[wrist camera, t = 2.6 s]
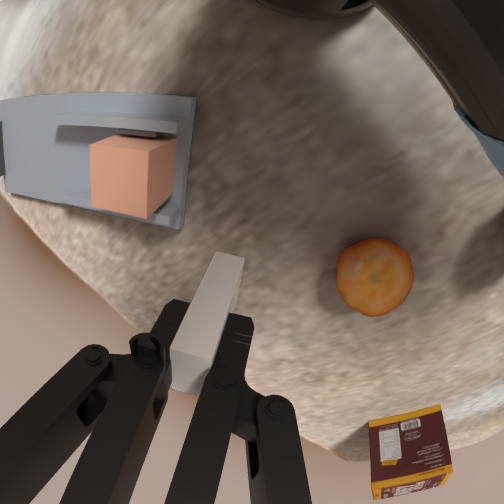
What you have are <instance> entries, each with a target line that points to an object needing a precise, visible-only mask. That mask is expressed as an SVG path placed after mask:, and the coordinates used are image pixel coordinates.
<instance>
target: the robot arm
mask: <svg viewBox="0 0 504 504" xmlns="http://www.w3.org/2000/svg"><path fill="white" fill-rule="evenodd" d="M256 1H258V2H259V3H261V4H263V5H264V6H266V7H268V8H270V9H272V10H275V11H277V12H280V13H283V14H286V15H290V16H293V17H298V18H304V19H315V20H328V19H338V18H343V17H348V16H351V15H354V14H357V13H359V12H362V11H364V10H365V9H367V8H369V7H370V6H372V5H374V6H375V7H376V8H377V9H378V10H379V11H380V12H381V13H382V14H383V15H384V16H385V17H386V18H387V19H388V20H389V21H390V22H391V23H392V24H393V25H394V27H395V28H396V29H397V30H398V31H399V32H400V33H401V34H402V35H403V37H404V38H405V39H406V40H407V41H408V42H409V43H410V45H411V46H412V47H413V48H414V49H415V51H416V52H417V53H418V54H419V56H420V57H421V58H422V59H423V61H424V62H425V63H426V64H427V66H428V67H429V68H430V70H431V71H432V72H433V74H434V75H435V77H436V78H437V79H438V81H439V82H440V83H441V85H442V86H443V88H444V89H445V91H446V92H447V94H448V95H449V97H450V98H451V100H452V101H453V105H454V109H455V111H456V112H457V114H458V115H459V117H460V119H461V120H462V121H463V122H464V123H465V125H466V126H467V127H468V128H469V129H471V130H472V131H473V132H474V134H475V136H476V137H477V139H478V140H479V142H480V144H481V145H482V147H483V149H484V151H485V152H486V154H487V156H488V158H489V159H490V161H491V162H492V164H493V165H494V167H495V168H496V169H497V170H498V171H499V173H500V174H501V175H502V176H504V0H256ZM244 261H245V258H244V257H240V256H235V255H231V254H227V253H222V252H218V251H216V252H215V254H214V256H213V258H212V260H211V262H210V264H209V266H208V268H207V270H206V272H205V275H204V277H203V279H202V281H201V283H200V285H199V287H198V289H197V291H196V293H195V295H194V297H193V299H192V302H191V303H187V302H184V301H180V300H176V299H173V300H172V301H170V302H169V303H168V304H166V305H165V307H164V308H163V310H162V312H161V315H160V316H159V317H158V319H157V322H156V323H155V325H154V326H153V328H152V330H151V332H150V333H140V334H138V335H136V336H133V337H132V338H131V340H130V341H129V344H130V349H131V354H126V355H120V354H109V352H108V350H107V349H106V348H105V347H103V346H101V345H96V344H92V345H88V346H86V347H84V348H83V349H81V350H80V351H79V352H78V353H77V354H76V355H75V356H74V357H73V358H72V359H71V360H70V361H68V363H66V364H65V365H64V366H63V367H62V368H61V369H60V370H59V371H58V372H57V373H56V374H55V375H54V376H53V377H52V378H51V379H50V380H49V381H48V382H46V383H45V384H44V386H42V387H41V388H40V389H39V391H37V392H36V393H35V394H34V395H33V396H32V397H31V398H30V399H29V400H28V401H27V402H26V403H25V404H24V405H23V406H22V407H21V408H20V409H19V410H18V411H17V412H16V413H15V414H14V415H13V416H12V417H11V418H10V419H9V420H8V421H7V422H6V423H5V424H4V425H3V426H2V427H1V428H0V504H29V503H30V502H31V501H32V500H33V499H34V498H35V496H36V495H37V494H38V493H39V492H40V490H41V489H42V488H43V487H44V486H45V485H46V483H47V482H48V481H49V480H50V479H51V478H52V477H53V476H54V474H55V473H56V472H57V471H58V469H60V468H61V466H62V465H63V464H64V463H65V462H66V461H67V459H68V458H69V457H70V456H71V455H72V454H73V452H74V451H75V450H76V449H77V448H78V447H79V446H80V444H81V443H82V442H83V441H84V440H85V439H86V437H87V436H88V435H89V434H90V433H91V432H92V433H91V435H90V437H89V439H88V441H87V443H86V445H85V448H84V450H83V452H82V454H81V456H80V458H79V460H78V463H77V465H76V467H75V469H74V471H73V474H72V476H71V478H70V480H69V483H68V485H67V487H66V489H65V492H64V494H63V497H62V499H61V501H60V503H59V504H129V501H130V499H131V496H132V493H133V490H134V487H135V485H136V482H137V479H138V477H139V474H140V471H141V468H142V466H143V463H144V461H145V458H146V455H147V452H148V450H149V447H150V444H151V442H152V439H153V436H154V434H155V431H156V429H157V426H158V423H159V421H160V418H161V416H162V413H163V410H164V408H165V405H166V403H167V400H168V390H169V388H170V385H171V386H172V389H174V390H178V391H181V392H184V393H188V394H192V395H195V396H199V399H198V402H197V404H196V408H195V411H194V414H193V417H192V420H191V423H190V426H189V429H188V432H187V435H186V438H185V441H184V444H183V448H182V451H181V454H180V457H179V460H178V463H177V466H176V469H175V472H174V475H173V479H172V482H171V485H170V488H169V491H168V494H167V497H166V500H165V504H214V502H215V498H216V493H217V490H218V486H219V482H220V478H221V474H222V470H223V465H224V461H225V457H226V453H227V449H228V444H229V440H230V436H231V432H232V433H233V434H236V435H237V436H239V437H241V438H243V439H244V440H245V443H246V454H247V466H248V478H249V489H250V499H251V504H312V501H311V496H310V490H309V485H308V479H307V474H306V468H305V463H304V458H303V452H302V447H301V441H300V436H299V431H298V425H297V420H296V415H295V410H294V407H293V405H292V403H291V402H290V401H289V400H288V399H286V398H284V397H282V396H279V395H269V396H266V397H265V396H263V395H261V394H259V393H257V392H256V391H254V390H253V389H251V388H250V387H249V386H248V384H247V382H246V381H245V377H244V374H245V368H246V363H247V359H248V354H249V349H250V345H251V340H252V336H253V331H254V324H253V321H252V318H251V317H246V316H242V315H238V314H234V313H233V312H234V308H235V305H236V302H237V298H238V293H239V287H240V282H241V277H242V271H243V266H244Z"/></svg>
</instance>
